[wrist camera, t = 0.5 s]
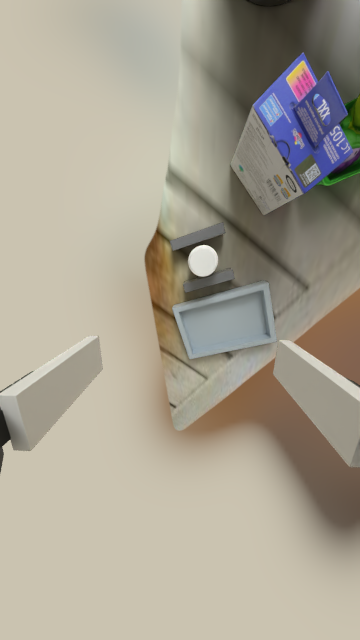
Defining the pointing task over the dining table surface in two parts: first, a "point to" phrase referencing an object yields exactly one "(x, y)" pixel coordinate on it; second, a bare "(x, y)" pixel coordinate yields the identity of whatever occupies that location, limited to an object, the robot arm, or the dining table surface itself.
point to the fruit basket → (356, 129)
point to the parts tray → (227, 320)
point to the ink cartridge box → (291, 137)
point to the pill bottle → (203, 260)
